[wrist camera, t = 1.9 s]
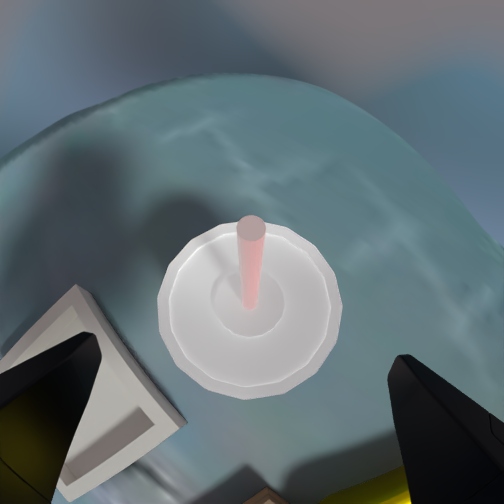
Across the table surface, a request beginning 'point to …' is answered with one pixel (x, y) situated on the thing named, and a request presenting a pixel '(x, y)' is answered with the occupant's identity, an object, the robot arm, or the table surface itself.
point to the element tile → (375, 491)
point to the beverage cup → (249, 309)
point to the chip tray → (101, 396)
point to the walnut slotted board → (266, 498)
